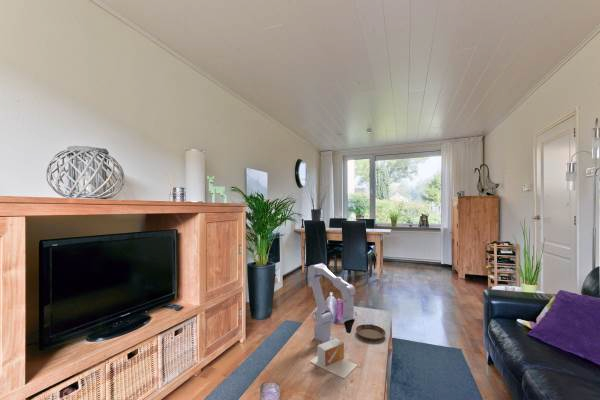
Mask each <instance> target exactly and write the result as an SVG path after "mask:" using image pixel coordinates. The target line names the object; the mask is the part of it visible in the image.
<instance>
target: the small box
mask: <svg viewBox="0 0 600 400" xmlns="http://www.w3.org/2000/svg"><path fill="white" fill-rule="evenodd" d="M316 353H317V355H316V356H318V362H320V363H321V364H322V365H324V366H325V367H326V366H328V365H330V364H332V363H335V362H337V361H339V360H341V359H345V342H342V341H341V340H340V339H338V338H333V339H332V340H330V341H328V342H325V343H324V342H322V343H321V344H318V345H317V350H316Z"/></svg>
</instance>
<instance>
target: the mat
mask: <svg viewBox="0 0 600 400" xmlns="http://www.w3.org/2000/svg"><path fill="white" fill-rule="evenodd" d="M309 362H310V363H311V364H313V365H315V366H317V367H319V368H321V369H323V370H325V371H327V372H329V373H331V374H333V375H336V376H338V377H339V378H341V379H343V380H344V379H346V378H347V376H348V375H350V374H351V373H352V372H353V371H354V370H355V369H356V368H357V367H358V364H356V363H354V362H351V361H350V360H347V359H346V358H343V359H341V360H339V361H337V362H335V363H332V364H330V365H328V366H326V367H325V366H324V365H322V364H321V363H320V362H318V355H316V356H315V357H314V358H313V359H311V360H310V361H309Z"/></svg>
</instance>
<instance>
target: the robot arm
mask: <svg viewBox="0 0 600 400" xmlns="http://www.w3.org/2000/svg"><path fill="white" fill-rule="evenodd" d="M307 272H308V276H309V281H310V284H311V290H312V291H313V296H314V299H315V304H316V308H317V309H316V310H315V312H314V314H315V322H314V323H315V324H314V326H313V330H314V331H313V332H314V333H313V334H314V335H313V339H315V340H317V341H319V342H322V343H325V342H328V341H330V340H333V339H334V337H333V336H331V335H332V333H331V328H332V327H331V324H332V321H333V320H334V314H333V312H332V310H331V308H330V307H329V306H327V304H326V301H325V296H324V294H323V293H324V291H323V289H322V286H321V283H320V279H321V277H322V276H324V277H325V278H327V279H328V280H330V282H332V285H333V286H334V287H335V288H336V289H337V290H338V291H340V294H341V296H342V306H343V307H342V309H343V310H342V316H341V318H340V319H339V324H341V325H344V328H345V332H346V333H347V334H351V333H352V330H353V325H354V323H355V322H356V318H357V316H358V313H357V311H354V309H355V307H354V305H355V304H354V303H355V302H354V301H355V300H354V299H355V297H354V295H356V293H357V290H356V286H354V285H353V284H351V283H348V282H346V281H345V280H344V279H343V278H342V277H341V276H336V275H335V274H334V273H333V272H331V270H329V269H328V267H327V265H326V264H324V263H323V262H320V263H317V264H311V265H309V267H308V269H307Z"/></svg>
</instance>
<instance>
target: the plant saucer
mask: <svg viewBox="0 0 600 400" xmlns="http://www.w3.org/2000/svg"><path fill="white" fill-rule="evenodd" d="M355 331H356V334H357V335H358V336H359V338H361V339H363V340H366V341H369V342H378V341H381V340H382V339H384V338H385V336H386V333H387V332H386V330H385V329H384V328H383V327H380V326H378V325H375V324H370V323H365V324H363V323H362V324H360V325H357V327H356V328H355Z"/></svg>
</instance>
